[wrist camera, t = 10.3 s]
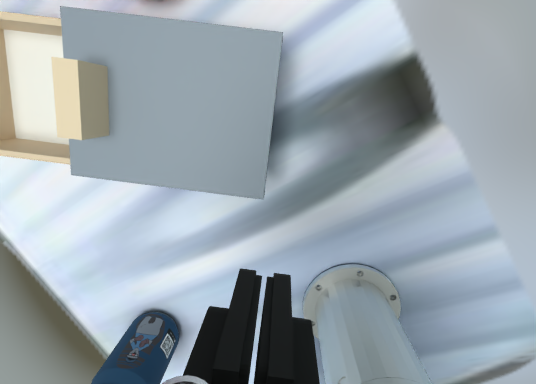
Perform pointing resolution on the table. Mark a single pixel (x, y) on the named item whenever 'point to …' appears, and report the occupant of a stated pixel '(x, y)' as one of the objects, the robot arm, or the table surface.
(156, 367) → the soda can
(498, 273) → the table surface
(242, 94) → the lid
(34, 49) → the box
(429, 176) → the table surface
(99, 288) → the table surface
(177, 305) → the table surface
